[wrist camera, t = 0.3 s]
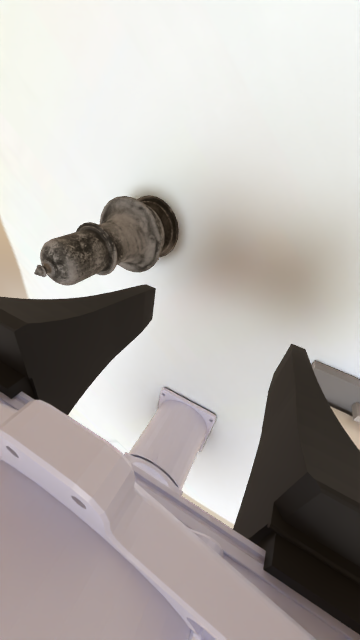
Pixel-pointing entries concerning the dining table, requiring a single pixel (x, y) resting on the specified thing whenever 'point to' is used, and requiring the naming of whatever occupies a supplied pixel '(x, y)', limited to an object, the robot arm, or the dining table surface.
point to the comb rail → (339, 389)
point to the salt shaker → (112, 241)
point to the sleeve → (349, 426)
